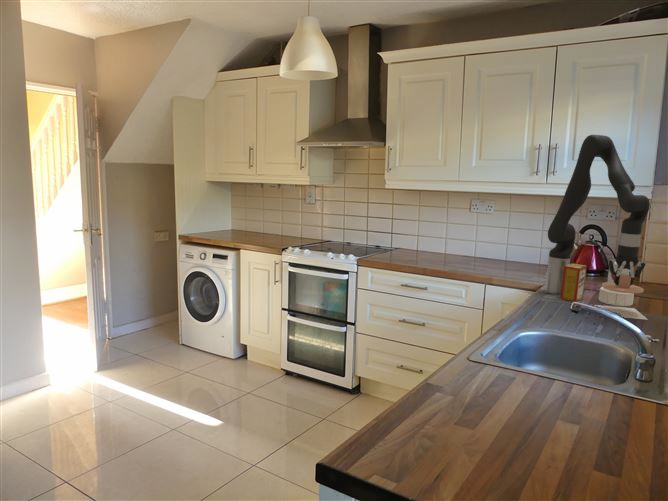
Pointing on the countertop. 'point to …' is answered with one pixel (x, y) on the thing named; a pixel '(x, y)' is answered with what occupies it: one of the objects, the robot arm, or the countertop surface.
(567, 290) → the baking soda box
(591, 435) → the countertop surface
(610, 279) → the supplement box
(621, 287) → the lid
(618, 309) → the mat
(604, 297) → the bowl
